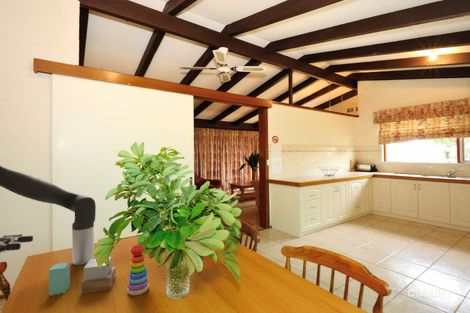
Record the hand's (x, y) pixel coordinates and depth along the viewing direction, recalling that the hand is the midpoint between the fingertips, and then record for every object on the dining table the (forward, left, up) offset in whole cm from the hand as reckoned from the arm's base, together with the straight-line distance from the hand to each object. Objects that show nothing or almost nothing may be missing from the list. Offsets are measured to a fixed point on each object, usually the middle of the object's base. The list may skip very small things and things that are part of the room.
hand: (26, 242), depth 87 cm
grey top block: (0, +24, -16) cm, 29 cm away
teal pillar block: (0, +11, -21) cm, 23 cm away
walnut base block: (0, +25, -21) cm, 32 cm away
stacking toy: (+9, +41, -21) cm, 46 cm away
